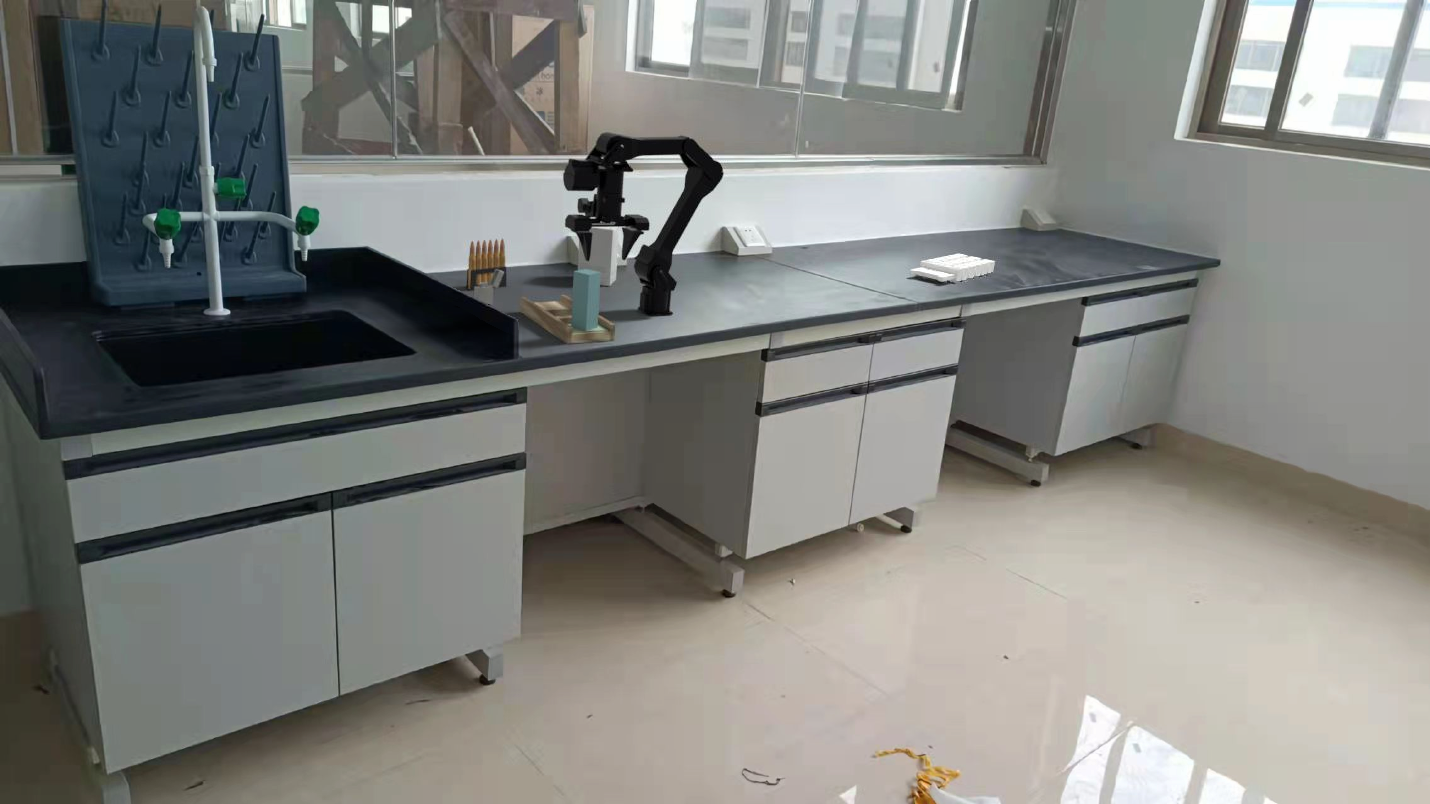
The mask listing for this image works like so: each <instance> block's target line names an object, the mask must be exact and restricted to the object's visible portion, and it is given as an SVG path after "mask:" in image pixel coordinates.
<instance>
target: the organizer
mask: <svg viewBox="0 0 1430 804" xmlns="http://www.w3.org/2000/svg"><path fill="white" fill-rule="evenodd" d="M995 264H996V261H995V260H990V259H987V258H984V259H983V258H981V257H976V256H972V255H971V256H969V255H966V254H962V253H955V254H951V255H946V256H940V257H935V258H930V259H926V260H920V265H919V267H916V268H912V269H910V270H909V275H912V276H921V277H924V278H928V279H931V280H932V279H934V280H937V281H938V282H947V280H952V281H961V280H966V279H967V278H973V277H974V276H980V275H984V274H987V273H991V272H993V273H994V268H995Z"/></svg>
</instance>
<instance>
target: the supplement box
mask: <svg viewBox="0 0 1430 804" xmlns="http://www.w3.org/2000/svg"><path fill="white" fill-rule="evenodd" d="M619 230H620V227H592V228H591V229H590V230H589V232H592V233H593V234H592V244H591V254H590V259H589V261H586V260H585V256H584V253H583V249H582V246H581V243H580V240H579V239H578V253H577V254H578V258H577V271H578V270H582V269H589V270H593V271H597V272H601V277H600V286H604V287H606V286H607V287H610V286H612V284H613V283H615V281H616V280H617V269H618V268H617V267H618V266H617V265H618V264H617V263H618V247H619V245H618V243H619Z"/></svg>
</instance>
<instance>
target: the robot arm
mask: <svg viewBox="0 0 1430 804" xmlns="http://www.w3.org/2000/svg"><path fill="white" fill-rule="evenodd" d="M670 155H671V156H674V155H676V156H677V155H679V157H680V160H681V161H682V163H683V165H684V166H685V167H686V168H687V171H686V173H685V177H684V186H683V187H684V188H683V190H682V192H681V194H680V196H679V198H678V200H677V201H676V202H675V204H674V207H673V209H672V210H671V212H670V214H669V216H668V217H667V219H666V220H665V223H664V225H663V226H662V228H661V230H660V232H659V234H658V235H657V237H656V239H655V240H654V241H653V242H652V243H651V244H649V245H647V244H642V245H641V247H640V250H639V251H638V254H637V255H636V256H634V260H635V261H634V265H633V268H634V273H635V275H636V276H637V277H638V279H639V282H640V284H641V285H642V290H641V292H640V296H639V306H637V310H639V311H640V312H642V313H644V314H645V315H648V316H667V315H669V316H670V315H674V312H673V311H671V296H672V292H673V291H674V292H675V289H676V286H677V284H678V283H677V281H676V279H675V278H674V277H673V275H671V273H670V270H671V268H672V266H673V255H674V254H673V253H674V251H675V248H676V246H677V245H678V243H679V241H680V239H681V238H682V236H683V234H684V232H685V231H686V228H687V227H688V225H689V224H690V221H691V220H692V218H693V216H694V215H695V212H696V210H697V209H698V208H699V206H700V204H701V202H702V200H703V199H704V198H705V197H706V196H708V195H710V194H711V193H712V192H713V191H714V190H715V189H716V188H717V186H718V185H719V184H720V182H721V181H722V180H723V179H724V178H723V177H724V175H725V173H724V169H723V166H722V164H721V163H720V162H719V161H717V160H715V159H714V158H713V157H712V156H711V155H710V154H709V153H708V152H707V151H706V150H705V149H703V148H702V147H701V146H700V145H699V144H698V142H697V141H696V140H695V139H694V138H693V137H690V136H685V135H678V136H652V137H651V136H649V137H648V136H647V137H644V136H643V137H638V136H637V137H635V136H629V135H624V134H619V133H613V132H607V131H606V132H603V133H601V134H600V135H599V137H598V138H597V139H596V142H595V145H594V147H593V148H592V149H591V151H590V152H589V153H588V154H587V156H586V157H585V159H575V158H569V159H568V163H567V165H566V166H565V168H564V172H563V175H562V176H563V177H562V180H563V181H562V182H563V186H564V188H565V190H566V191H568V192H593V191H595V189H596V193H594V194H593V200H589V199H588V197H579V198H578V199H577V212H578V214H568V215H566V217H565V219H564V227H565V228H568V229H570V231H571V232H573V233H575V235H576V236H577V238H578V241H579V240H580V243H581V246H582V249H583V253H584V256H585V260H586V261H589V259H590V254H591V244H592V234H593V233H592V232H589V230H590V229H591V228H592V227H619V228H620V227H621V231H622V237H623V238H622V247H621V260H622V261H626V260H627V258H628V257H629V254H630V252H631V250H632V249H633V247H634V245H635V244H636V242H637V241H638V240H639V238H640V237H641V235H644V234H645V232H646V231H650V220H649V218H648V217H645V216H643V215H641V214H629V213H628V214H627V213H626V214H625V215H622V211H623V210H622V208H623V204H624V203H626V197H623V194H624V193H623V192H624V191H623V190H624V178H625V176H624V175H625V173H633V172H634V169H633V167H631V166H630V165H629V163H628V161H630V160H633V159H635V158H637V157H641V156H642V157H643V156H670Z"/></svg>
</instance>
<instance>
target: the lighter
mask: <svg viewBox="0 0 1430 804" xmlns="http://www.w3.org/2000/svg"><path fill="white" fill-rule="evenodd" d="M503 274H504V272H503V271H501V270H498V269H495V271H494V274H493V276H492V279H491V281H490V283H489V285H488V282H480V283H479V286H476V287H474V293H473V294H474V295H473V298H474V297H475V298H478V299H479V300H482V301H483V302H486V303H488V304H490V305H489V306H492V305H493V304H494V303H493V299H494V298H493V297H494V289H499V288H498V286H499V284H500V281H501V279H502V276H503ZM493 287H495V288H493Z"/></svg>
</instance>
